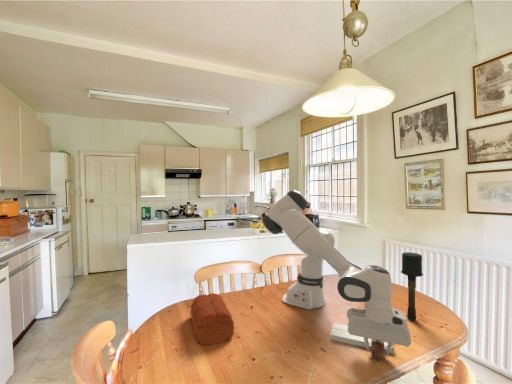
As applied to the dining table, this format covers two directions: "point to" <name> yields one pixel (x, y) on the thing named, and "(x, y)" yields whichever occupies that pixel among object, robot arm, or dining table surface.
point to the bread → (211, 319)
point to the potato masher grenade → (411, 279)
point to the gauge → (377, 350)
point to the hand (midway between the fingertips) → (377, 351)
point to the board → (349, 336)
